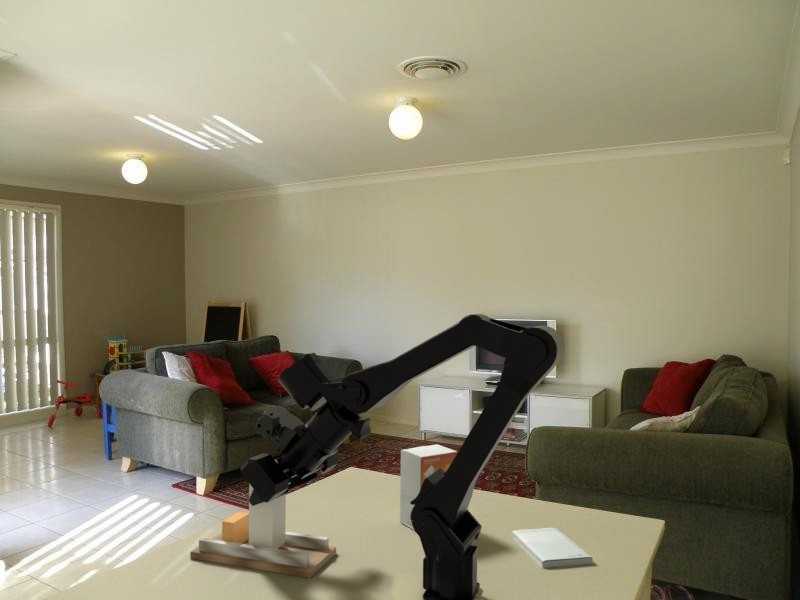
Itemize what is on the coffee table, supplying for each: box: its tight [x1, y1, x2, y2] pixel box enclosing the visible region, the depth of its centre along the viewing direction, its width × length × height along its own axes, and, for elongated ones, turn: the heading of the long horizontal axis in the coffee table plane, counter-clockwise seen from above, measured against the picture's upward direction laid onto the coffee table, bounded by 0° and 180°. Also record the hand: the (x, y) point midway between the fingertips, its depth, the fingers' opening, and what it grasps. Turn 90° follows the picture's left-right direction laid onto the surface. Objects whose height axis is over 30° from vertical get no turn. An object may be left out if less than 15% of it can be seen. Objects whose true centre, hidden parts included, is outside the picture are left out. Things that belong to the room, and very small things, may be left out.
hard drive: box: [510, 527, 594, 569], centre depth 100 cm, size 2×8×12 cm
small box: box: [399, 443, 458, 531], centre depth 110 cm, size 8×6×13 cm
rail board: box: [189, 530, 337, 579], centre depth 96 cm, size 20×9×3 cm, turn 72°
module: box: [248, 482, 287, 549], centre depth 96 cm, size 4×4×10 cm
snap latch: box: [221, 511, 249, 544], centre depth 98 cm, size 2×4×4 cm, turn 162°
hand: (260, 498), depth 97 cm, fingers closed on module, 4 cm apart
